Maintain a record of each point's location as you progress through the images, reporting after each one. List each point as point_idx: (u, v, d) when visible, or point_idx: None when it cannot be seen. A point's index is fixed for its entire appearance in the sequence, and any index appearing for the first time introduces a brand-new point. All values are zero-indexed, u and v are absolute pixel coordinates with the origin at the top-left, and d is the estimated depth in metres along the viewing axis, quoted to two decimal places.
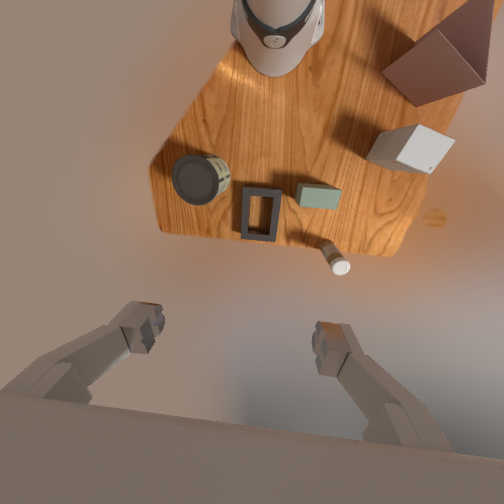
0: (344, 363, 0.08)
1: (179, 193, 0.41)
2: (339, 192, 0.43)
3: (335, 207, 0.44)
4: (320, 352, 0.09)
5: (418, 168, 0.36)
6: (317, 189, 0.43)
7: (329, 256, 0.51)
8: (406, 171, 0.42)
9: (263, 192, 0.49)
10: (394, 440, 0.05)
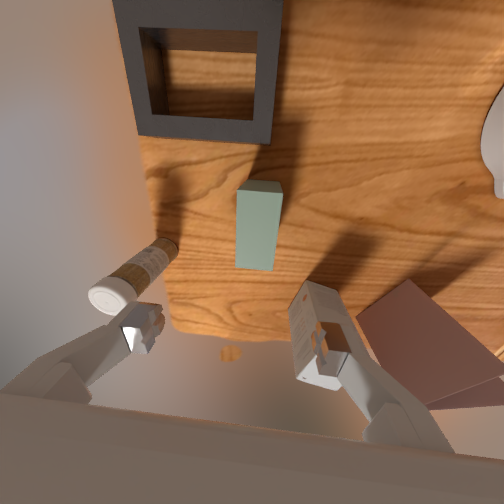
0: (344, 364, 0.08)
1: None
2: (268, 267, 0.22)
3: (239, 264, 0.22)
4: (320, 352, 0.09)
5: (306, 368, 0.24)
6: (276, 226, 0.19)
7: (135, 267, 0.24)
8: (291, 335, 0.31)
9: (264, 84, 0.18)
10: (394, 440, 0.05)
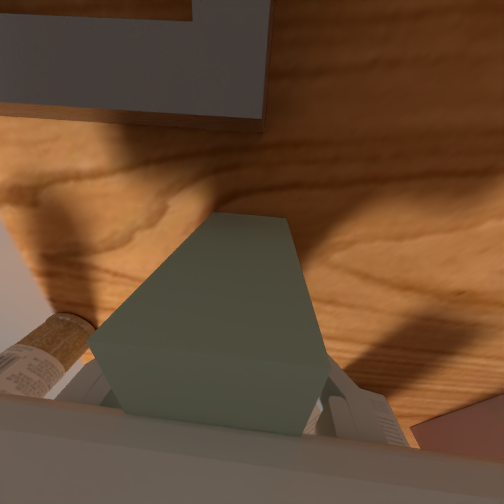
0: None
1: None
2: None
3: None
4: None
5: None
6: None
7: None
8: None
9: None
10: (332, 432, 0.05)
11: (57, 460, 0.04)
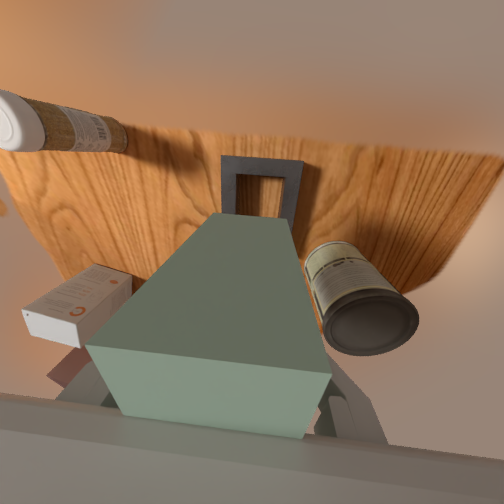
0: None
1: (413, 314, 0.20)
2: None
3: None
4: None
5: (41, 315, 0.27)
6: None
7: (70, 138, 0.19)
8: (67, 282, 0.33)
9: None
10: (332, 432, 0.05)
11: (57, 460, 0.04)
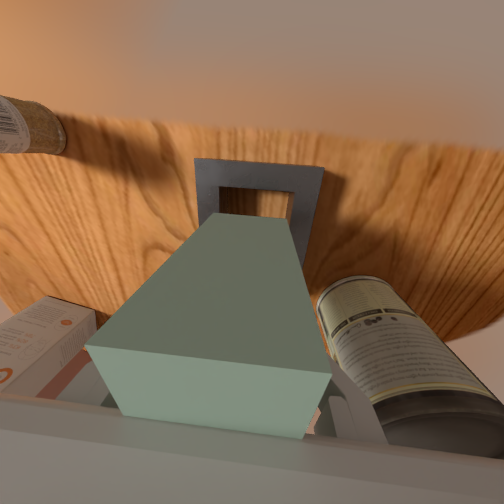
0: None
1: None
2: None
3: None
4: None
5: None
6: None
7: None
8: None
9: None
10: (332, 432, 0.05)
11: (57, 460, 0.04)
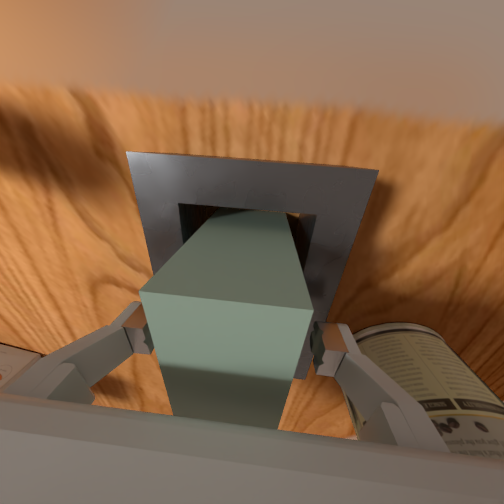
0: (341, 363, 0.08)
1: None
2: None
3: None
4: (317, 352, 0.09)
5: None
6: (284, 384, 0.06)
7: None
8: None
9: None
10: (390, 439, 0.05)
11: (57, 460, 0.04)
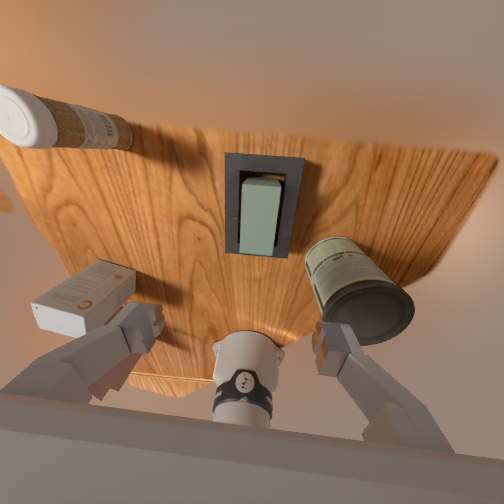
0: (343, 364, 0.08)
1: (409, 304, 0.21)
2: (268, 252, 0.25)
3: (243, 250, 0.25)
4: (320, 352, 0.09)
5: (50, 308, 0.28)
6: (275, 216, 0.23)
7: (80, 135, 0.20)
8: (73, 276, 0.33)
9: None
10: (394, 440, 0.05)
11: (57, 460, 0.04)
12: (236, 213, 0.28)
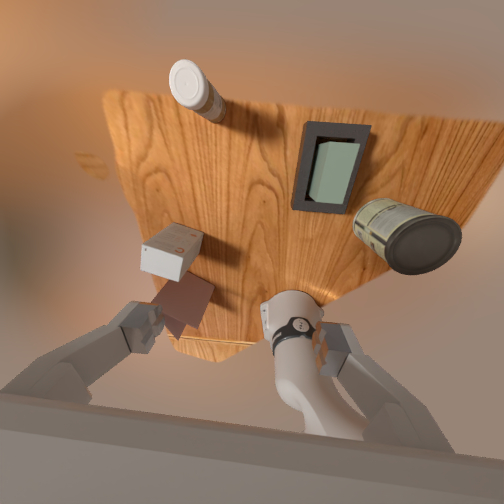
0: (343, 364, 0.08)
1: (458, 233, 0.27)
2: (340, 201, 0.31)
3: (319, 199, 0.32)
4: (320, 352, 0.09)
5: (156, 249, 0.34)
6: (351, 168, 0.29)
7: (211, 103, 0.27)
8: (162, 231, 0.40)
9: (317, 206, 0.37)
10: (394, 440, 0.05)
11: (57, 460, 0.04)
12: (308, 173, 0.34)
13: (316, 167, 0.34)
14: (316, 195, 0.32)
